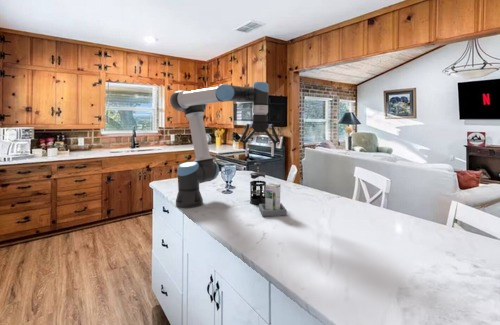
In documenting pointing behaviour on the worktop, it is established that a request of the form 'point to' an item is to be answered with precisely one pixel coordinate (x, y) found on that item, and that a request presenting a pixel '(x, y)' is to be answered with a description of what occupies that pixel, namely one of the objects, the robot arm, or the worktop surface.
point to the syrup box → (272, 196)
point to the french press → (257, 196)
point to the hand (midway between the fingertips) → (259, 156)
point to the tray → (272, 211)
